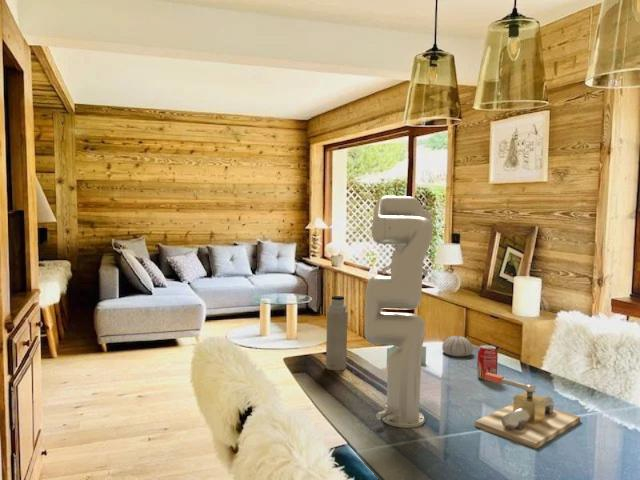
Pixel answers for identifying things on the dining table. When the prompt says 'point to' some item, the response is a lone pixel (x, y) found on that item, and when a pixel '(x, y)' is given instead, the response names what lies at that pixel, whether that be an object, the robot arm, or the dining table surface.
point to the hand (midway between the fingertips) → (403, 291)
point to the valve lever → (509, 382)
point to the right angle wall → (392, 348)
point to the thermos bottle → (336, 334)
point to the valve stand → (528, 420)
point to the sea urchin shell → (457, 346)
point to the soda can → (487, 360)
